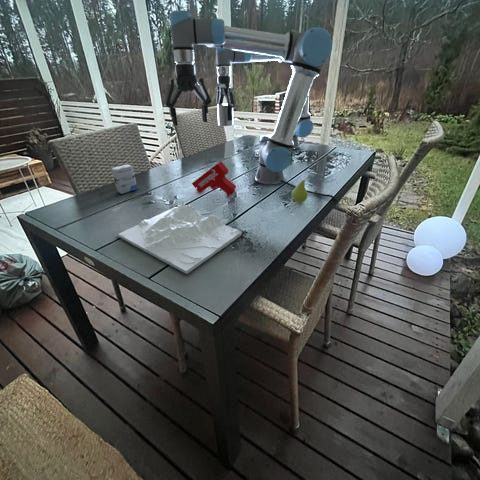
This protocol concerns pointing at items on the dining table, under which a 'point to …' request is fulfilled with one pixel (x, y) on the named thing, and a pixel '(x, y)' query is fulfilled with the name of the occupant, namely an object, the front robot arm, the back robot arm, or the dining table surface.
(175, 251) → the relief map
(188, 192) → the dining table surface
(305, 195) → the fruit
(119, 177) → the ink box
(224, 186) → the toy gun
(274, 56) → the back robot arm
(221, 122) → the can
